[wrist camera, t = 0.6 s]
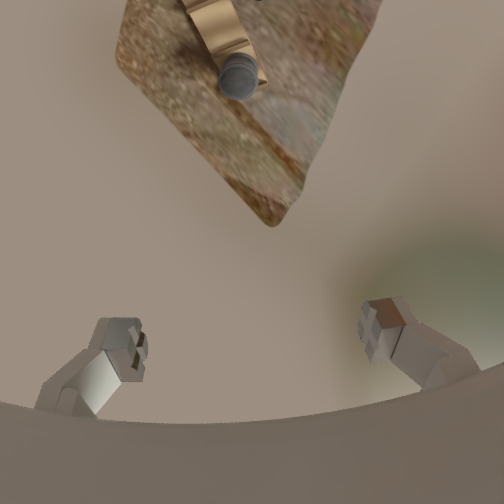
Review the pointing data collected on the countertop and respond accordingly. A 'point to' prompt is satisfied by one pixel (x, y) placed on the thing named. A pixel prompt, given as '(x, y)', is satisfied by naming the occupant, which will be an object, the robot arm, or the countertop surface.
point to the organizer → (222, 32)
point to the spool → (238, 76)
